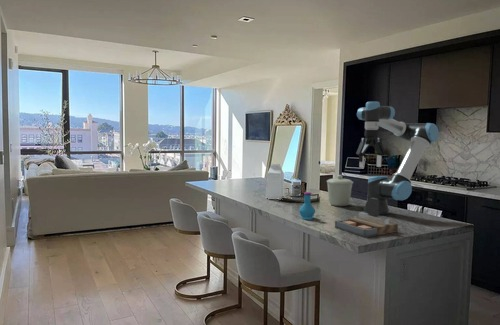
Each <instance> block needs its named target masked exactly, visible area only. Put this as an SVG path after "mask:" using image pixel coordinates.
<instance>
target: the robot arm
mask: <svg viewBox="0 0 500 325" xmlns="http://www.w3.org/2000/svg"><path fill="white" fill-rule="evenodd" d="M380 104H381V103H380V102H379V101H367V102H366V103H365V106H364V107H363V106H362V107H359V108H358V109H357V112H356V117H357V119H358V120H361V121H364V137H361V139H360V143H359V145H358V148H357V150H356V152H355V154H356V155H357V156H358V162H359V164H358V166H359V167H358V168H360V169H364V168H365V156H364V155H365V153H366V152H367V150H368V149H369V148H370V147H373V148H374V150H375V152H376V154H377V155H376V167H378V168H381V167H382V161H383V156H384V155H385V154H386V152H385V149H384V146H383V145H384V144H383V142H382V140H383V139H382V138H381V137H380V138H379V133H380V131H379V128H383V129H385V130H387V131H389V132H391V133H392V134H393V135H394V136H396V137H398V138H400V139H402V140H405V141H409V142H411V143H410V144H409V147H408V149H407V150H406V153H405V155H404V157H403V158H402V161H401V162H400V165H399V167H398V168H397V170H396V172H395V173H392V175H391V176H390V178H388V177H389V176H387V175H378V176H377V175H376V176H375V175H374V176H370V177H368V179H367V197H366V198H367V200H366V202H365V206H364V209H363V212H364V213H368V210H369V198H377V199H379V211H378V216H382V215H385V216H386V215H389V214H390V207H389V206H388V199H390V200H391V199H392V200H396V201H405V200H407V199H408V198H409V197H410V196H411V194H412V192H413V191H412V189H413V186H412V180H411V178H412V177H413V174H414V172H415V170H416V168H417V166H418V164H419V162H420V160H421V159H422V156H423V154H424V152H425V149H427V148H429V147H430V146H431V144H432V143H436V142H437V141H438V140H439V135H440V133H439V128H438V126H437V125H436V124H435V123H431V122H426V123H424V122H423V123H420V122H419V123H417V122H413V123H412V122H410V123H407V122H405V121H398V120H396V119H394V117H395V114H396V110H395V108H394V107H393V106H389V105H380Z"/></svg>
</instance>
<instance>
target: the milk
mask: <svg viewBox="0 0 500 325" xmlns="http://www.w3.org/2000/svg"><path fill="white" fill-rule="evenodd" d="M284 175H285V174H284V171H283V168H282V166H281V164H280V163H271V165H270V167H269V169H268V171H267V173H266V182H265V183H266V184H265V195H264V196H265V197H264V198H268V199H267V200H269V199H277V198H281V197H282V196H284V197H285V176H284Z"/></svg>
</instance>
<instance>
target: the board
mask: <svg viewBox="0 0 500 325" xmlns="http://www.w3.org/2000/svg"><path fill="white" fill-rule="evenodd" d="M347 220H348V221H352V222H355V223H356V227H357V226H362V225H365V226H369V227H372V229H373V228H377V236H379V235H386V234H392V233H393V232H394V233H398V231H399V230H398V229H399V224H398V223H395V222H393V221H389V225H381V224H378V223H374V222H371V221H367V220H364V219H360V218H358V217H352V218H347Z"/></svg>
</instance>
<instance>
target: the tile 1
mask: <svg viewBox="0 0 500 325" xmlns="http://www.w3.org/2000/svg"><path fill="white" fill-rule="evenodd" d="M342 223H345V224H348V225H352V226H355V227H356V223H355V222H352V221H344V222H342Z"/></svg>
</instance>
